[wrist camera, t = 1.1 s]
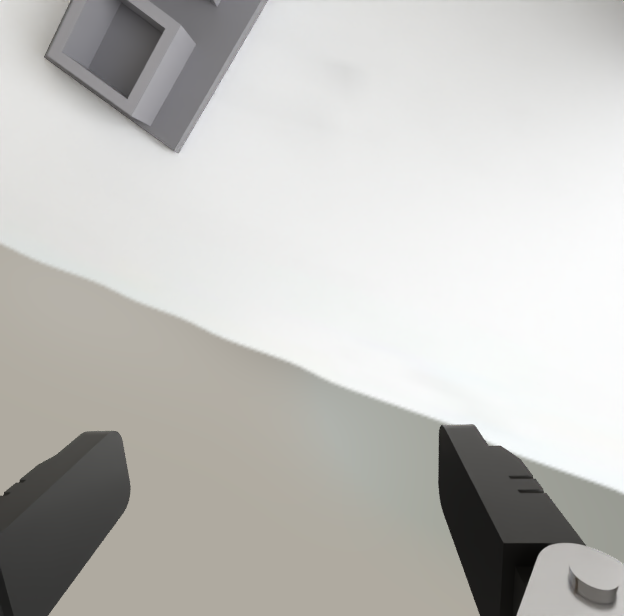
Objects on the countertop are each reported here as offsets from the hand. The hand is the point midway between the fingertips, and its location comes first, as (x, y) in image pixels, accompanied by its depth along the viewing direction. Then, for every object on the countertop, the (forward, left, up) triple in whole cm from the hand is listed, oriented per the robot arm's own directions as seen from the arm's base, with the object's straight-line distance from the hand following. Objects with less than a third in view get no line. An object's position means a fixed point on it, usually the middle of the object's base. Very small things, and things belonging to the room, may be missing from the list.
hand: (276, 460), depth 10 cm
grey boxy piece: (-12, -22, -25) cm, 35 cm away
